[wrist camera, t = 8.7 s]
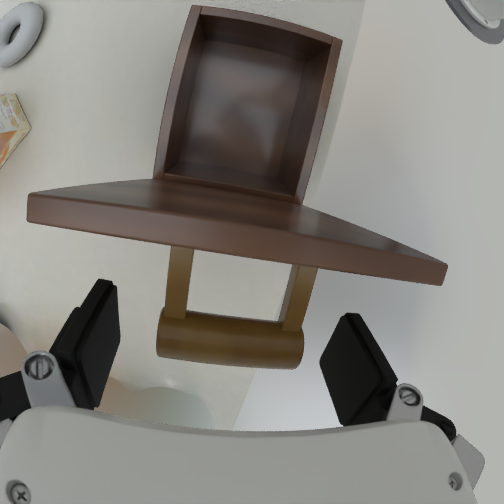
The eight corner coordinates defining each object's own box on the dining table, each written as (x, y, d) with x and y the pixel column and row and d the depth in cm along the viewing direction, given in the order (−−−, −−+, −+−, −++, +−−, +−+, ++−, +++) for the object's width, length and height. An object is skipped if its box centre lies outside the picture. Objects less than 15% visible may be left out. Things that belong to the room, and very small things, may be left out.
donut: (60, 8, 18) (19, 3, 15) (48, 1, 15) (7, -2, 12) (25, 74, 21) (-11, 63, 18) (10, 72, 18) (-25, 62, 15)
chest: (199, 34, 23) (191, 4, 15) (312, 58, 26) (342, 39, 18) (170, 166, 30) (151, 182, 22) (281, 185, 32) (301, 208, 24)
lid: (26, 192, 5) (40, 362, 7) (449, 264, 8) (393, 394, 9) (151, 178, 21) (142, 243, 23) (303, 205, 24) (289, 265, 25)
